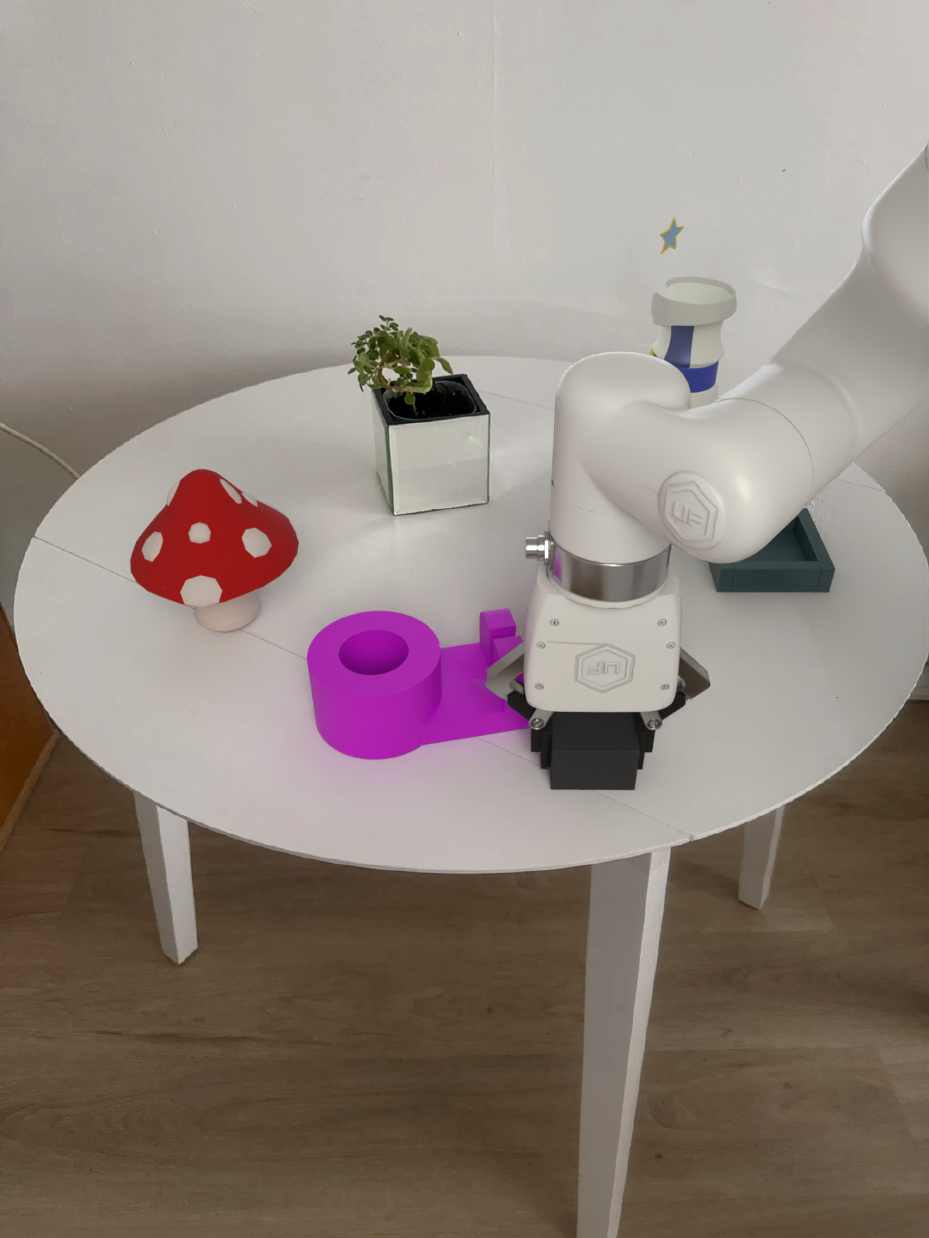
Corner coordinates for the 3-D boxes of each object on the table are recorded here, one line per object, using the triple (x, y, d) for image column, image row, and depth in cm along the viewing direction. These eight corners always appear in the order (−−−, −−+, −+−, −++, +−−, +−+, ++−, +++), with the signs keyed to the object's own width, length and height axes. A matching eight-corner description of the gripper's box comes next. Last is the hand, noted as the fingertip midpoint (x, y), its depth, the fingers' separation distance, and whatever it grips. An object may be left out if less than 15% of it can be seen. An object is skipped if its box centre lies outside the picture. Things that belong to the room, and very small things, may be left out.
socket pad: (802, 530, 97) (807, 507, 95) (829, 592, 89) (835, 568, 87) (698, 530, 97) (702, 507, 95) (716, 592, 89) (721, 568, 88)
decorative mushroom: (252, 555, 95) (227, 411, 86) (343, 618, 87) (326, 468, 78) (119, 620, 87) (75, 471, 78) (206, 696, 80) (168, 540, 70)
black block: (625, 730, 76) (630, 692, 73) (634, 790, 71) (640, 751, 69) (546, 730, 76) (548, 691, 74) (550, 789, 71) (552, 750, 69)
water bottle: (619, 477, 105) (642, 235, 90) (649, 442, 111) (675, 209, 95) (694, 496, 102) (731, 249, 86) (721, 459, 108) (760, 221, 92)
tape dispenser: (322, 769, 73) (313, 707, 69) (310, 681, 81) (301, 620, 77) (533, 734, 76) (535, 672, 72) (501, 652, 83) (502, 592, 79)
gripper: (469, 590, 59) (471, 793, 71) (760, 590, 59) (716, 794, 70) (470, 521, 65) (473, 719, 76) (735, 521, 65) (699, 720, 76)
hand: (589, 753), depth 73 cm, fingers closed on black block, 6 cm apart
